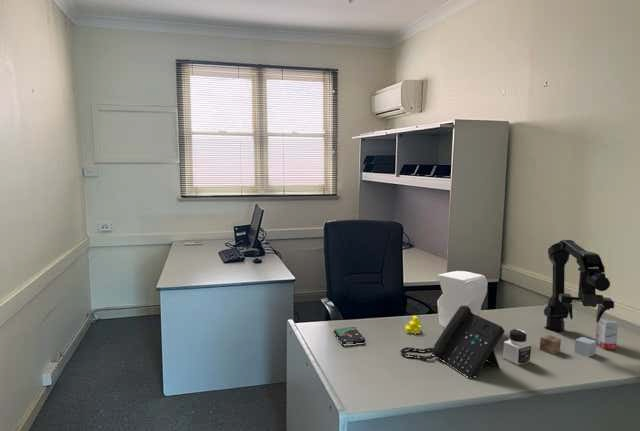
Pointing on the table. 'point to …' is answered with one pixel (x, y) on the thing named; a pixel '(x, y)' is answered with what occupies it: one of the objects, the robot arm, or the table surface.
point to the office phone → (466, 342)
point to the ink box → (606, 333)
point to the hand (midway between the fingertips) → (584, 320)
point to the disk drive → (349, 335)
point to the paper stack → (460, 293)
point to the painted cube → (585, 346)
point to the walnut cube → (550, 344)
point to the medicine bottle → (517, 347)
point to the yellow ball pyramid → (413, 325)
